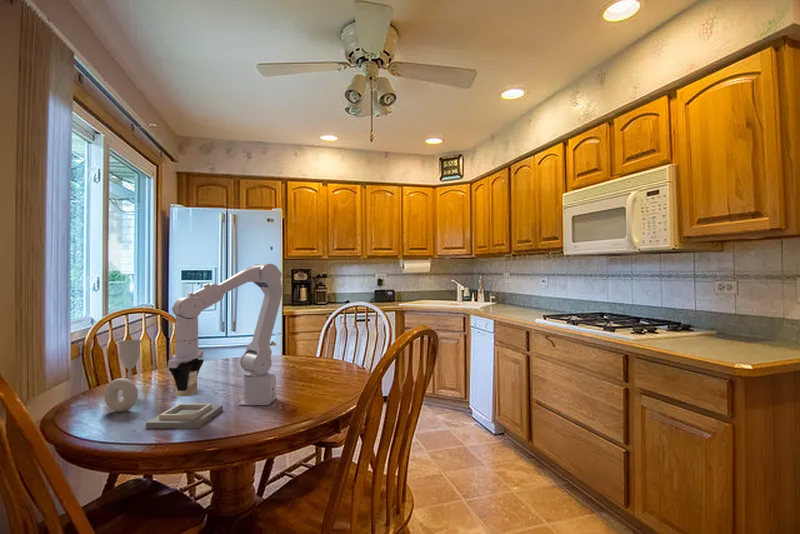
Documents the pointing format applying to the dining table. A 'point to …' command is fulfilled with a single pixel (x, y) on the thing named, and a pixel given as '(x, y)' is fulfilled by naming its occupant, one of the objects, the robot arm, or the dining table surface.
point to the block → (190, 387)
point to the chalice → (129, 355)
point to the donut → (129, 392)
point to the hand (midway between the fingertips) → (186, 388)
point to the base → (185, 416)
